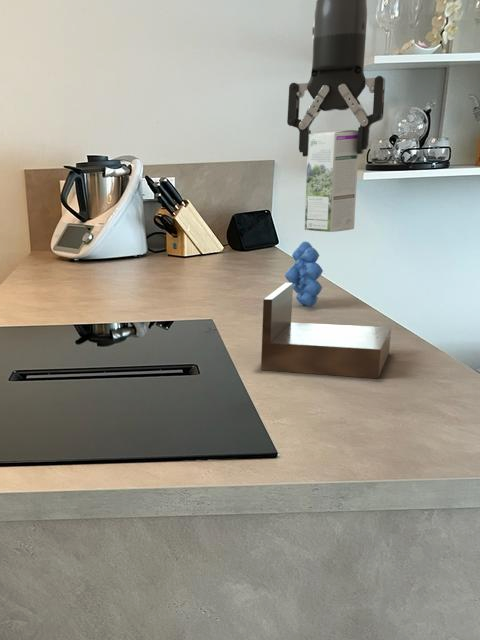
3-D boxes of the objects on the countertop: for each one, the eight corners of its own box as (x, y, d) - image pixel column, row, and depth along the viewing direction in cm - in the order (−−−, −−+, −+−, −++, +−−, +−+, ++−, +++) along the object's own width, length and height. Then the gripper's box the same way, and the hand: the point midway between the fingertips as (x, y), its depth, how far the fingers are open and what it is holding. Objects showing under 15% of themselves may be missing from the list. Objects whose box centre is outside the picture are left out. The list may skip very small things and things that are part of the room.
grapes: (273, 301, 158) (275, 239, 154) (305, 299, 159) (308, 238, 154) (293, 312, 148) (297, 246, 143) (327, 310, 148) (332, 244, 144)
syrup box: (355, 229, 125) (362, 129, 119) (329, 232, 122) (334, 130, 116) (328, 227, 129) (333, 131, 123) (302, 230, 126) (306, 132, 121)
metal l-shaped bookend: (388, 353, 117) (395, 286, 113) (378, 378, 106) (385, 303, 102) (282, 347, 123) (285, 282, 119) (260, 370, 111) (263, 299, 108)
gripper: (393, 32, 115) (383, 152, 121) (295, 41, 121) (291, 156, 127) (387, 26, 109) (377, 153, 115) (284, 36, 114) (280, 157, 121)
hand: (332, 155), depth 121 cm, fingers closed on syrup box, 7 cm apart
